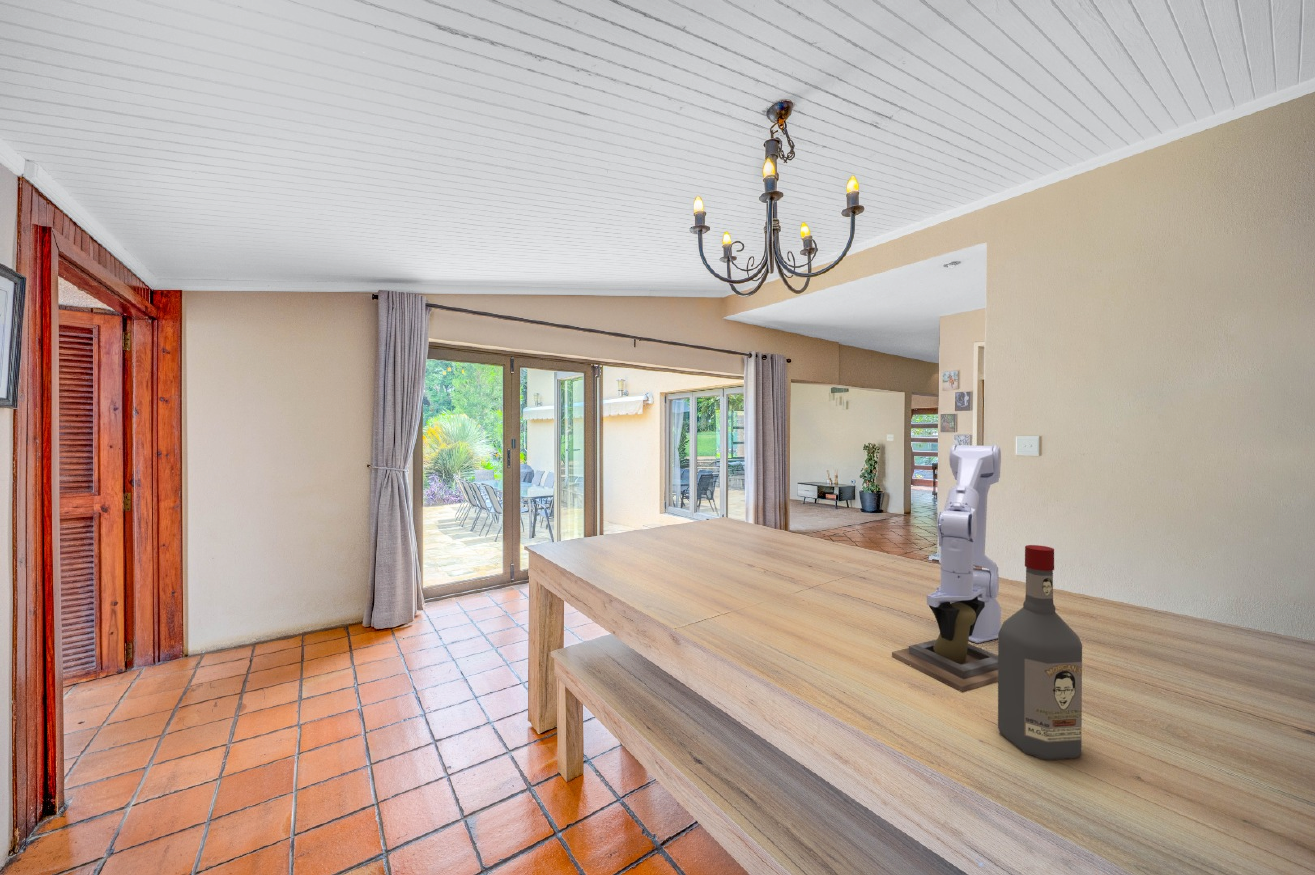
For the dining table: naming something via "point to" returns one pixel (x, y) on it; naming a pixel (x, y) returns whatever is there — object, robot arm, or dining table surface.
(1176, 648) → the dining table surface
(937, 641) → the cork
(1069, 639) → the liquor
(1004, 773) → the dining table surface
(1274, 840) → the dining table surface
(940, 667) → the socket board
